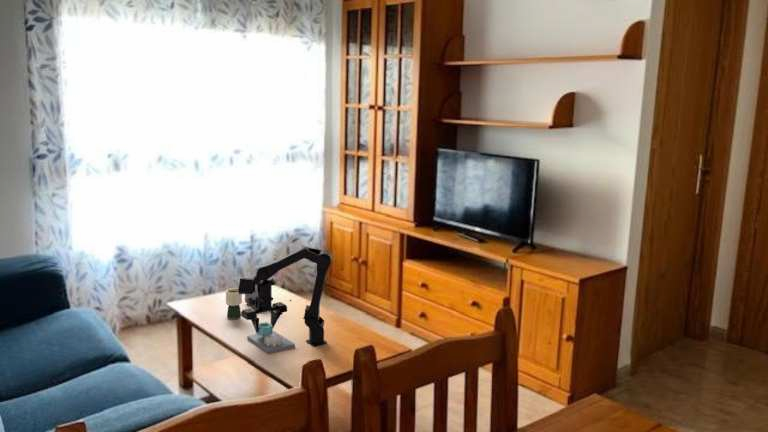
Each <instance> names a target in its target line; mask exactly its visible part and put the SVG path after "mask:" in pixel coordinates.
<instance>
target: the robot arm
mask: <svg viewBox="0 0 768 432" xmlns="http://www.w3.org/2000/svg"><path fill="white" fill-rule="evenodd" d="M304 259H306V260H308V261H309V262H312V263H314V264H316V277H315V283H314V286H313V292H312V296H311V302H310V305H308V304H307V305H305V309H304V315H303V318H302V319H303V320H304V324H305V326H307V327H308V331H309V332H308V339H307V340H305V341H306V343H308V344H309V345H311V346H313V347H319V346H321V345H325V344H328V341H326V340H325V328H324V326H325V323H326V322H325V319H324V318H323V317H322V316H321V315H320V314H321V306H320V304H321V300H322V299H321V298H322V296H323V295H322V294H323V289H324V284H325V281H326V276H327V275H326V274H327V273H328V271H329V269H330V266H331V263H332V259H333V255H332V252H331V251H329V250H328V249H322V250H321V249H319V248H313V247H308V246H302V247H301V248H298V249H296V250H295V251H293V252H290V253H289V254H287V255H285V256H283V257H281V258H279V259H277V260H272V261H267V262H264V263H261V264H260V266H259V267H258V268H257V270H256V274H255V275H254V276H253V277H254V278H252V277H245V276H244V277H243V276H242V277H240V279H239V284H238V292H239V294H242V295H245V294H253V293H254V292H256V289H257V285H258V296H256V299H253V298H247V303H246V305H247V307H248V306H249V307H251V308H246V309H244V308H243V309H242V310H241V317H242V319H243V318H244V319H245V320H246V321H251V323H252V326H253V328H254V331H255V333H256V332H258V328H259V323H260V317H258V315H261V314H265V313H269V314H270V323H272V325H273V329H274V328H275V326H276V323H277V321H278V320H279V318H280V317H281V315H283V313H287V312H288V306H287V305H286V304H285V303H283V302H281V301H280V302H275V303H272V302H273V300H274V297H272V295H273V294H272V291H273V290H272V287H273V286H276V285H277V281H276V279H274V278H273V276H274V275H275V274H277V273H278V272H280V271H281V270H283V269H285V268H287V267H289V266H291V265H293V264H296V263H298V262H299V261H301V260H304ZM271 277H272V278H271ZM262 280H263V281H262ZM250 305H251V306H250ZM254 306H255V308H254V309H252V308H253V307H254Z"/></svg>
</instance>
